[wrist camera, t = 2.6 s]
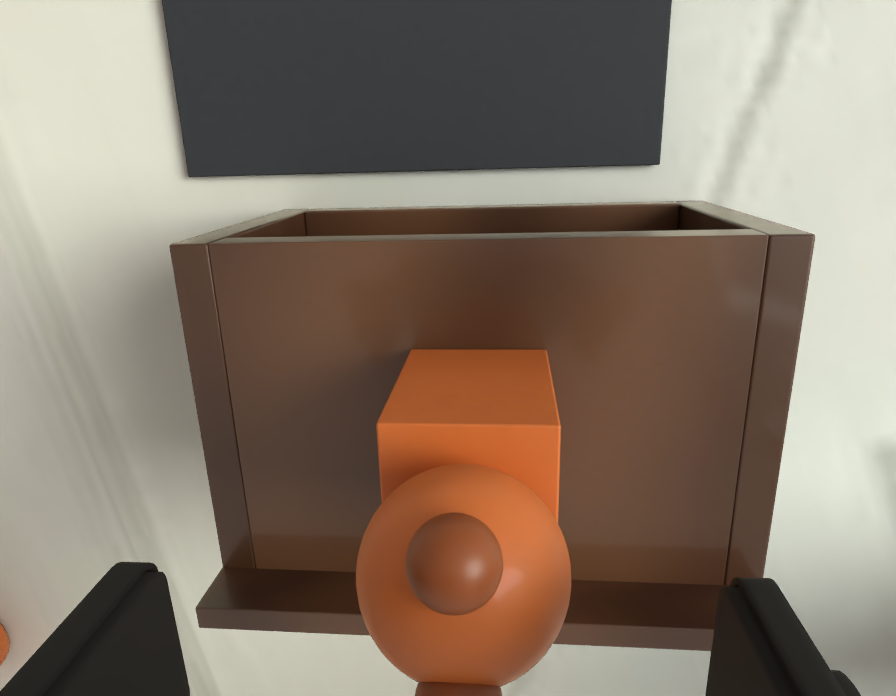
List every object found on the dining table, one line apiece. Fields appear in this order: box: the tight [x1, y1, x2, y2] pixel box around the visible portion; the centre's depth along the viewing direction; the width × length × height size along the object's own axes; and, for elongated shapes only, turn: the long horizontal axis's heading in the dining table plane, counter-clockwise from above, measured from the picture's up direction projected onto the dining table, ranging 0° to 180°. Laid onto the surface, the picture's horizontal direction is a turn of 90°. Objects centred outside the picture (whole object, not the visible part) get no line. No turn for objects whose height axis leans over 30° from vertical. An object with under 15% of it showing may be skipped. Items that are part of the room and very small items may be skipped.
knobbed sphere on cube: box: [356, 349, 571, 696], centre depth 14 cm, size 4×5×10 cm
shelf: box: [170, 201, 815, 651], centre depth 23 cm, size 18×12×12 cm, turn 92°
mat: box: [162, 0, 672, 177], centre depth 25 cm, size 20×11×1 cm, turn 92°
